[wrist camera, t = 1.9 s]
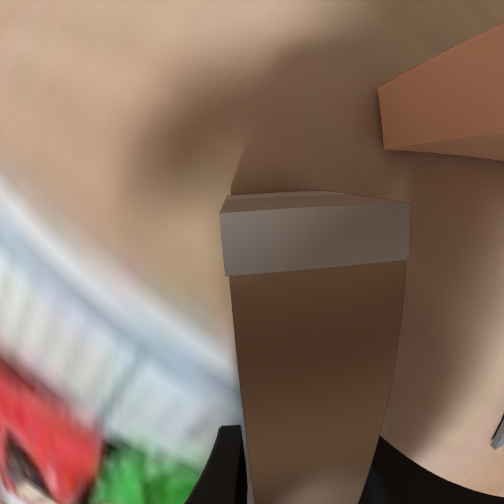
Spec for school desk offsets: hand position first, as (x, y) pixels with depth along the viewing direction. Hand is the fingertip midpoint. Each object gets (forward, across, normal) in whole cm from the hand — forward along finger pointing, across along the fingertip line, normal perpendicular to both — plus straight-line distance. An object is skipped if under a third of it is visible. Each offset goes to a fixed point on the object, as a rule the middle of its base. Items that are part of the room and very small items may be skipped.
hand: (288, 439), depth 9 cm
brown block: (+1, 0, 0) cm, 1 cm away
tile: (+2, -8, -10) cm, 13 cm away
